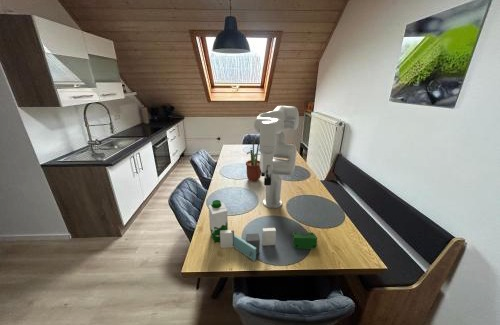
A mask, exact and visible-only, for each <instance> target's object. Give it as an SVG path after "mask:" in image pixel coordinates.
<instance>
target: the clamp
mask: <svg viewBox="0 0 500 325" xmlns="http://www.w3.org/2000/svg"><path fill="white" fill-rule="evenodd" d="M292 238H293V239H292V240H293V241H292V245H293V247H294V248H295V249H299V250H300V249H303V250H315V249H317V246H318V237H317V235H316V234H315V233H314V232H307V234H306V235H305V234H301V233H300V232H299V231H292Z"/></svg>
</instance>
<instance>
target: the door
mask: <svg viewBox="0 0 500 325" xmlns="http://www.w3.org/2000/svg"><path fill="white" fill-rule="evenodd" d="M233 248H235V249H236V251H237V250H238V252H240V253H241V254H243V255H244V256H246V257H248V258H249V259H250V260H252V261H253V262H255V261H256V260H257V253H256V247H254V246H252V245H251V244H249V243H248V242H246V239H245V240H244V239H243V238H241V237H240V236H239V235H237V234H234V247H233Z"/></svg>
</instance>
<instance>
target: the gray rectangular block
mask: <svg viewBox="0 0 500 325" xmlns="http://www.w3.org/2000/svg"><path fill="white" fill-rule="evenodd" d="M245 235H246V236H245V241H246V242H248V243H249V244H251V245H252V246H254V247H256V254H260V248H261V247H260V242H261V240H260V234H259V233H247V234H245Z"/></svg>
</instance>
